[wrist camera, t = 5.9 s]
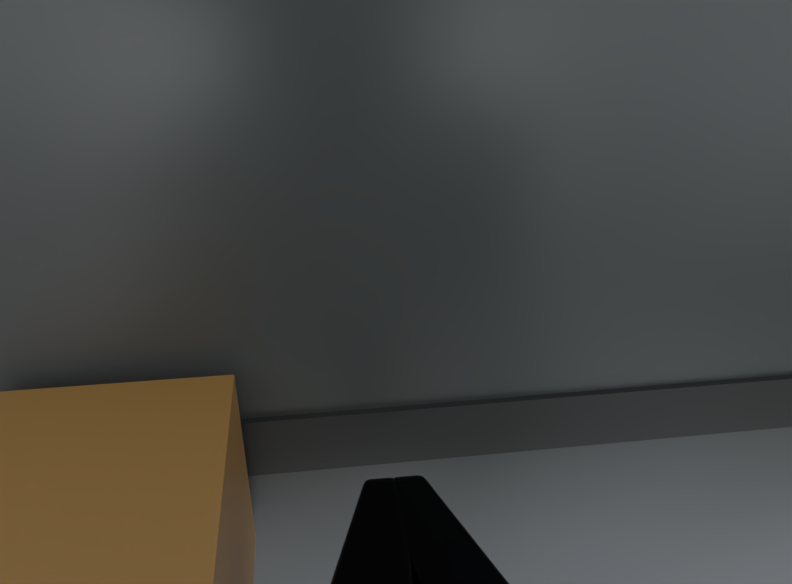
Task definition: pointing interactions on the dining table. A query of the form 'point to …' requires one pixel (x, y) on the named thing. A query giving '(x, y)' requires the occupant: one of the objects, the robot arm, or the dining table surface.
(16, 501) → the lever
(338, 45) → the grey flat rectangular board
